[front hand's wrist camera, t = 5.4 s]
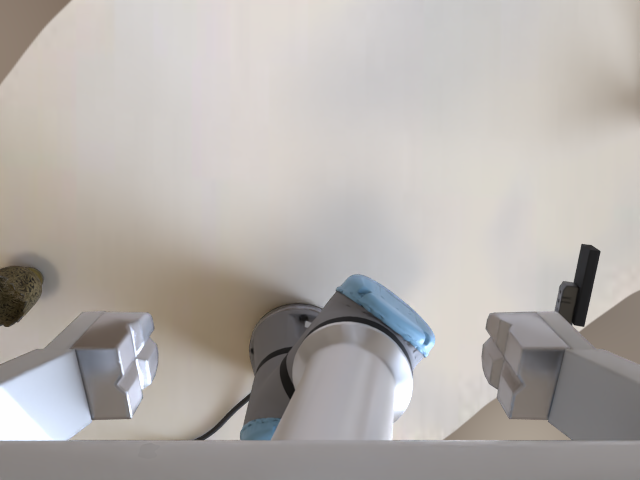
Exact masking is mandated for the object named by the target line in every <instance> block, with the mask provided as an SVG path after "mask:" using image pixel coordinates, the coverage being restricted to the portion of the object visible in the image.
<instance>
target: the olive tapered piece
mask: <svg viewBox="0 0 640 480" xmlns="http://www.w3.org/2000/svg"><path fill="white" fill-rule="evenodd" d="M42 284H43V276H42V274H41V272H40V271H38V270H37V269H35V268H32V267H25V268H24V267H20V266H10V267H5V268H2V269H0V326H2V325H4V326H5V327H9V326H11V325H13V324H15V323H16V322H19V321H20V320H21V319H22V317H23V316H24V315H25V314H26V313H27V312H28V311H29V310H30V309H31V308H32V307H33V306H34V305H35V303H36V302H37V301H38V299H39V298H40V296H41V292H42Z"/></svg>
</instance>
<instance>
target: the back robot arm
mask: <svg viewBox="0 0 640 480" xmlns="http://www.w3.org/2000/svg"><path fill="white" fill-rule="evenodd" d="M599 256H600V251H599V250H598V249H596V248H595V247H593V246H592V245H586V244H582V245H581V250H580V254H579V259H578V264H577V269H576V274H575V279H574V283H572V282H565V281H563V282H562V284H561V285H560V287H559V293H558V297H557V302H556V307H555V312H557V313H559V314H560V315H561V316H562V317H563V318H564V319H565V320H566V321H567V322H569V323H570V324H571V325H572V323H573V324H574V325H576V326H582V327H584V325H585V320H586V316H587V311H588V307H589V302H590V297H591V293H592V288H593V284H594V279H595V274H596V270H597V265H598V261H599ZM434 343H435V336H434V334H433V332H432V330H431V328H430V327H429V326H428V324H427V323H426V322H425V321H424V320H423V319H422V318H421V317H420V316H419V315H418V314H417V313H416V312H415V311H414V310H413V309H412V308H411V307H410V306H408V305H407V304H406V303H405V302H404V301H403V300H401V299H400V298H399V297H398V296H396V295H395V294H394V293H392V292H391V291H390V290H388V289H387V288H385V287H384V286H382V285H381V284H379V283H378V282H376V281H374V280H372V279H370V278H368V277H366V276H363V275H358V274H357V275H352V276H350V277H349V278H348V279H347V280H346V281H345V282H344V283H343V284H342V285H341V286H340V287H337V289H336V293H335V294H334V295H333V296H332V298H331V299H330V300H329V301H328V303H327V304H326V305H325V307H324V308H323V309H321V308H319V307H316V306H312V305H307V304H289V305H284V306H281V307H278V308H276V309H274V310H272V311H270V312H269V313H267V314H266V315H265V316H264V317H262V318H261V320H260V321H259V322H258V323H257V325H256V326H255V328H254V331H253V333H252V337H251V341H250V346H249V353H250V360H251V364H252V368H253V372H254V375H255V378H254V382H253V386H252V390H251V393H250V394H249V395H248V396H246V397H245V398H244V399H243V400H242V401H241V402H239V403H238V404H237V405H236V406H235V407H234V408H233V409H232V410H231V411H230V412H229V413H228V414H227V415H226V416H225V417H224V418H223V419H222V420H221V421H220V422H219V423H218V424H217V425H216V426H215V427H214V428H213V429H211V430H210V431H209V432H207V433H206V434H204V435H203V436H201V437H199V438H197V439H195V440H205V439H207V438H208V437H210V436H211V435H212V434H214V433H215V432H216V431H217V430H219V429H220V428H221V427H222V426H223V425H224V424H225V423H226V422H227V420H228V419H229V418H230V417H231V416H232V415H233V414H234V413H235V412H236V411H237V410H239V409H240V408H241V407H242V406H243V405H244V404H246V403H247V402H248V401H249V403H248V407H247V412H246V416H245V420H244V425H243V428H242V430H241V432H240V440H392V431H393V423H394V422H395V421H397V420H398V419H399V418H400V416H401V415H402V414H403V412H404V411H405V410H406V408H407V405H408V403H409V401H410V397H411V394H412V387H413V369H414V368H415V366H416V365H417V364H418V363H419V362H420V361H421V359H422V358H423V357H426V356H428V352H429V351H430V349H431V348H432V347H433V345H434Z"/></svg>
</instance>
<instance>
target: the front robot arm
mask: <svg viewBox="0 0 640 480" xmlns="http://www.w3.org/2000/svg"><path fill="white" fill-rule="evenodd" d="M153 330H154V324H153V319H152V316H151V315H150V314H149V313H148V312H106V311H96V312H82V313H81V314H80V315H79V316H78V317H77V318H76V319H75V320H74V321H73V322H72V323H71V324H70V325H68V326H67V327H66V328H65V329H64V330H63V331H62V332H61V333H60V334H59V335H58V336H57V337H56V338H55V339H54V340H53V341H52V342H51V343H50V344H48V345H47V346H46V347H45V348H44V349H36V350H33V351H31V352H29V353H26V354H24V355H22V356H19V357H17V358H14V359H12V360H10V361H7V362H5V363H3V364H0V480H640V364H637V363H635V362H633V361H630V360H628V359H625V358H623V357H621V356H618V355H616V354H614V353H611V352H609V351H607V350H604V349H596V348H595V347H594V346H593V345H592V344H590V343H589V342H588V341H587V340H586V339H585V338H584V337H583V336H582V335H581V334H580V333H579V332H578V331H577V330H576V329H575V328H574V327H573V326H572V325H571V324H570V323H569V322H567V321H566V320H565V319H564V318H563V317H562V316H561V315H560V314H559V313H557V312H554V311H545V312H504V313H490V314H489V317H488V319H487V323H486V330H487V332H488V333H489V335H490V336H491V337H490V338H489V339H488V340H487V341H486V342H485V343H484V344H483V349H482V367H483V371H484V374H485V377H486V379H487V381H488V383H489V384H490V385H492V386H493V387H495V388H496V389H498V393H497V399H498V400H499V402H500V404H501V406H502V407H503V409H504V411H505V413H506V414H507V416H508V418H509V419H532V420H548V422H549V423H550V424H552V425H553V426H554V427H556V428H557V429H558V430H560V431H561V432H562V433H563V434H565V435H566V436H568V437H569V438H570V439H571V440H69V439H70V438H71V437H73V436H74V435H75V434H77V433H78V432H79V431H81V430H82V429H83V428H85V427H86V426H87V425H88V424H90V423H91V422H92V420H108V419H131V418H132V416H133V414H134V413H135V411H136V409H137V407H138V406H139V404H140V402H141V400H142V399H143V393H142V389H144V388H145V387H147V386H148V385H150V384H151V383H152V381H153V379H154V377H155V375H156V370H157V366H158V348H157V344H156V343H155V342H154V341H153V340H152V339H151V338H150V337H149V336H150V335H151V333H152V332H153Z"/></svg>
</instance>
